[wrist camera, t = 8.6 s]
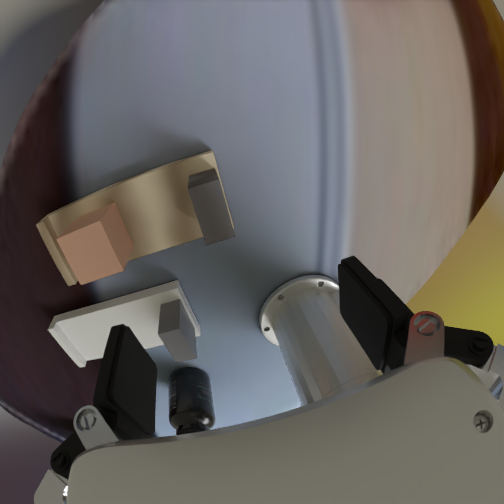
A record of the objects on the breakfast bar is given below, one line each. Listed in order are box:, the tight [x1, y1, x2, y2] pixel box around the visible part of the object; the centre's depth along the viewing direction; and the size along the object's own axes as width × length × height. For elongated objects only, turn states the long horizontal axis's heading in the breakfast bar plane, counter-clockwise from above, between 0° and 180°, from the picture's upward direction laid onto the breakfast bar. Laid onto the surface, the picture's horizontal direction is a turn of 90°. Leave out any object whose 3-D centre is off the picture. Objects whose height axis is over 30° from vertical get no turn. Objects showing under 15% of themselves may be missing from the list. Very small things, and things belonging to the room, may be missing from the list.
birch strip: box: [36, 150, 235, 286], centre depth 24 cm, size 20×8×7 cm, turn 103°
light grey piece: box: [48, 280, 201, 367], centre depth 30 cm, size 20×8×7 cm, turn 103°
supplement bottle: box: [169, 368, 215, 435], centre depth 35 cm, size 7×7×12 cm
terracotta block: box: [56, 202, 134, 285], centre depth 23 cm, size 5×5×5 cm
